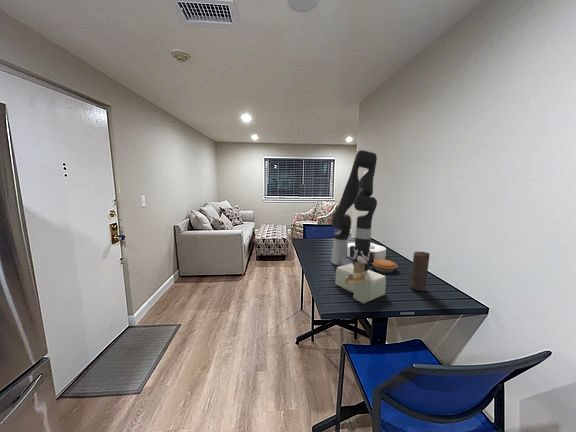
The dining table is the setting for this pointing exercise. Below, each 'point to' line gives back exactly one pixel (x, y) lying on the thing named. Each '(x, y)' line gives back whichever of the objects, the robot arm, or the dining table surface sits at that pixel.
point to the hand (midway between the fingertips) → (360, 268)
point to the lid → (361, 271)
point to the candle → (419, 270)
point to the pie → (384, 265)
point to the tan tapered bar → (354, 278)
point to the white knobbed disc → (379, 250)
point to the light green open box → (361, 288)
